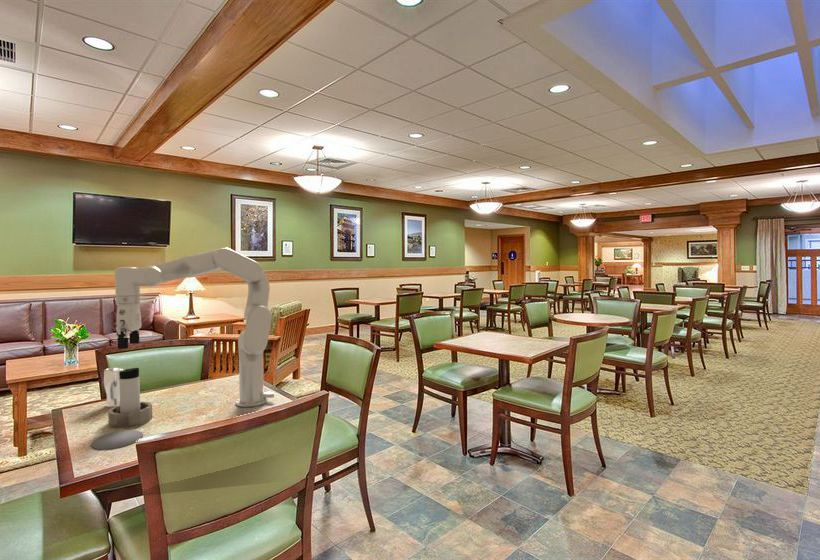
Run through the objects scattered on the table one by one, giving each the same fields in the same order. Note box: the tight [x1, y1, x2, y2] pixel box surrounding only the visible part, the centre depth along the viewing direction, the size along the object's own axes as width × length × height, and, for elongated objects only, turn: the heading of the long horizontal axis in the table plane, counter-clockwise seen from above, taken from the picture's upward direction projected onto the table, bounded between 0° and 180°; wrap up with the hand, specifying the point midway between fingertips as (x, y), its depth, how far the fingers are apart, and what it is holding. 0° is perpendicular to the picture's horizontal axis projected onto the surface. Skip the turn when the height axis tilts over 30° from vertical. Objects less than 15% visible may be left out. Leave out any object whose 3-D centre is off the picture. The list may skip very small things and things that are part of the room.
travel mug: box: [119, 367, 141, 413], centre depth 158 cm, size 6×7×20 cm
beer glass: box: [103, 366, 124, 408], centre depth 176 cm, size 7×7×15 cm
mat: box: [91, 429, 144, 450], centre depth 142 cm, size 14×14×1 cm
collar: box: [107, 401, 153, 429], centre depth 159 cm, size 13×13×5 cm
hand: (129, 346), depth 158 cm, fingers open, 9 cm apart
